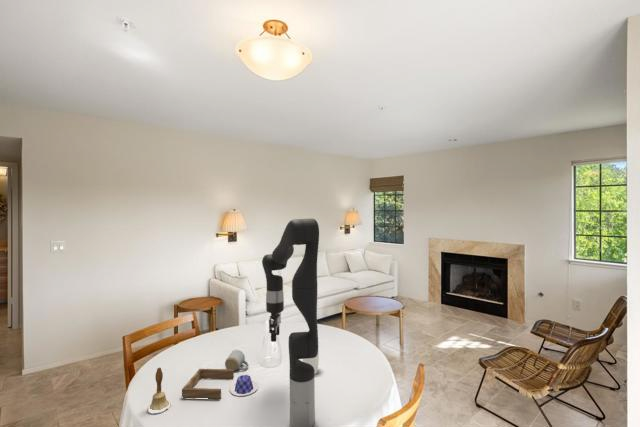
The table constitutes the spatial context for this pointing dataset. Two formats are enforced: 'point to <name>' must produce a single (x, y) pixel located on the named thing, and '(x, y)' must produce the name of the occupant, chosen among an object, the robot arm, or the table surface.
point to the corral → (205, 392)
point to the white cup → (313, 362)
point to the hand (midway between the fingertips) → (275, 337)
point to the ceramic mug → (236, 361)
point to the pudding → (243, 386)
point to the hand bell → (159, 394)
